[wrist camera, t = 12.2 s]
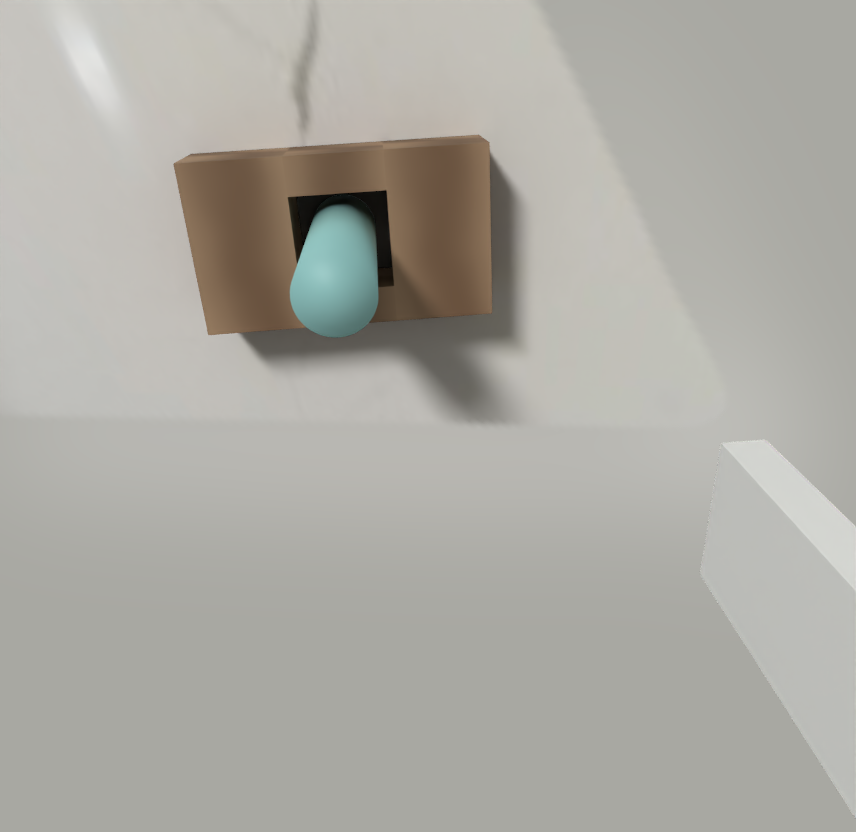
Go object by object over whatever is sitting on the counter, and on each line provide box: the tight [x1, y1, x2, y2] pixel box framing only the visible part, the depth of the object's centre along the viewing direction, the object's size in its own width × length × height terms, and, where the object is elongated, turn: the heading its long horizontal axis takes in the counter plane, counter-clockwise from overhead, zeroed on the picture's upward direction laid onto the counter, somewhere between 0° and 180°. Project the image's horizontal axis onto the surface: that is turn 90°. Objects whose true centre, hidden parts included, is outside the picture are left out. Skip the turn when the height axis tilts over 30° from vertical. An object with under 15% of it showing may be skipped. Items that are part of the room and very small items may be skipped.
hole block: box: [174, 135, 492, 335], centre depth 35 cm, size 14×8×4 cm, turn 93°
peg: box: [290, 194, 378, 338], centre depth 32 cm, size 3×3×12 cm
